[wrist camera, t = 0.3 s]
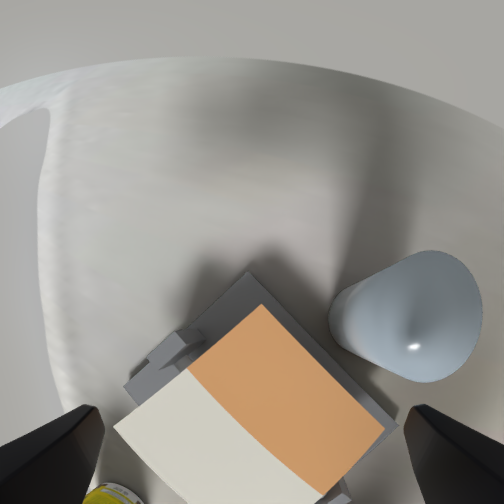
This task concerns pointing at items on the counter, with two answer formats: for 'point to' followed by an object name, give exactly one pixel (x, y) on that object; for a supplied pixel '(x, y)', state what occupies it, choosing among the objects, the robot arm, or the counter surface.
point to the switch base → (222, 322)
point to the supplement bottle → (111, 495)
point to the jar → (411, 317)
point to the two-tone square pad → (251, 422)
